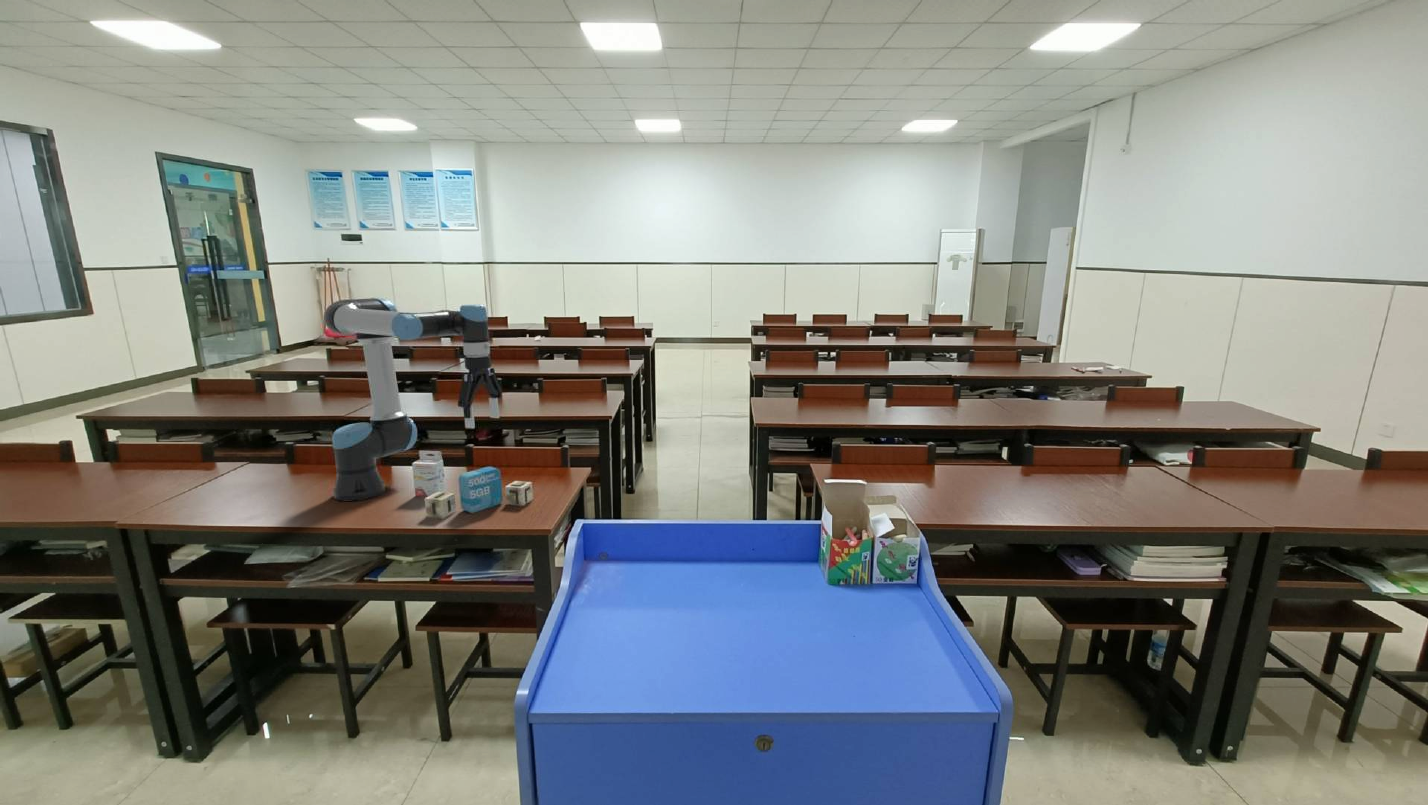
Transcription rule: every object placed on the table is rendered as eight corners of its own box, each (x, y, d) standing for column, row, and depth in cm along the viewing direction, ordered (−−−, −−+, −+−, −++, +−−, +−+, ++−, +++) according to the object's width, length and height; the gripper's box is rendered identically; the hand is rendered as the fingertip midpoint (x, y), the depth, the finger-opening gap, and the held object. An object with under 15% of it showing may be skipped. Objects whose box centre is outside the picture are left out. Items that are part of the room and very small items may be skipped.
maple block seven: (506, 504, 199) (504, 486, 198) (516, 498, 205) (515, 480, 204) (523, 506, 198) (522, 487, 196) (533, 499, 204) (532, 481, 202)
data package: (468, 514, 191) (465, 477, 189) (461, 511, 194) (457, 474, 191) (503, 503, 200) (500, 467, 198) (495, 500, 203) (492, 465, 200)
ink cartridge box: (414, 496, 207) (409, 454, 204) (422, 491, 211) (418, 450, 208) (439, 497, 206) (434, 455, 203) (446, 492, 211) (442, 450, 208)
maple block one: (426, 517, 189) (424, 498, 188) (439, 509, 195) (437, 491, 194) (443, 519, 188) (441, 499, 187) (456, 511, 194) (454, 492, 192)
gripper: (463, 361, 178) (470, 433, 182) (509, 350, 201) (514, 414, 206) (440, 360, 179) (447, 431, 184) (489, 350, 203) (494, 413, 207)
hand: (482, 422), depth 195 cm, fingers open, 13 cm apart
